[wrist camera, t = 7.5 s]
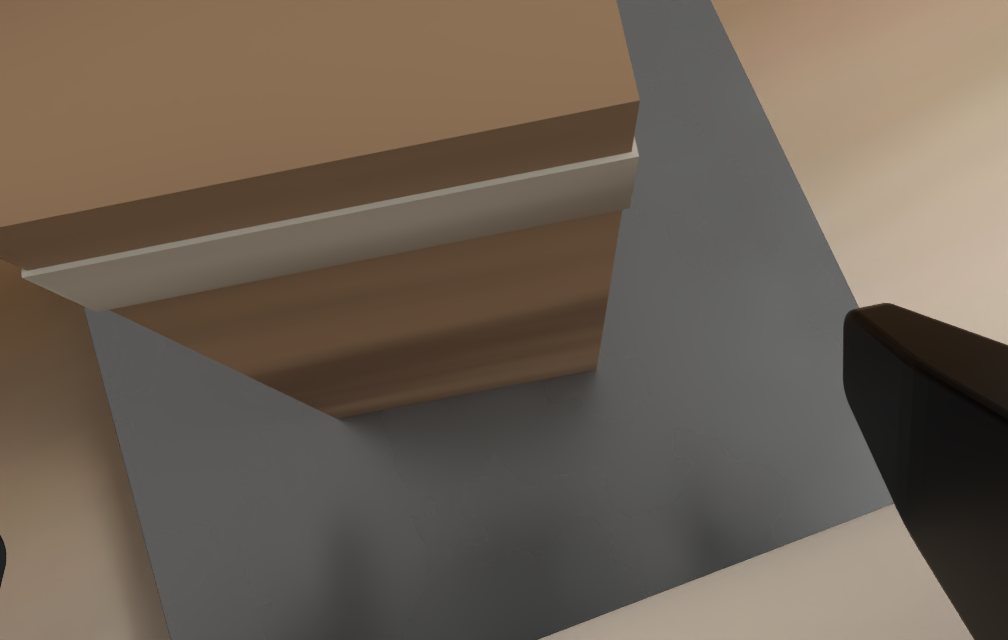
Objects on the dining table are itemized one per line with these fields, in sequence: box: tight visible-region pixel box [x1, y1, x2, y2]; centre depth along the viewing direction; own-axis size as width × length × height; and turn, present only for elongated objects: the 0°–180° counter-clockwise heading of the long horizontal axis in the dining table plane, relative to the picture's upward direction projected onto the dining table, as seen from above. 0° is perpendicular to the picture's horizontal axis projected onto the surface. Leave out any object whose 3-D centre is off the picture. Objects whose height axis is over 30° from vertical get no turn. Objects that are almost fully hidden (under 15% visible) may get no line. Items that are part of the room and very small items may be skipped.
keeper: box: [83, 0, 894, 640], centre depth 15 cm, size 14×14×7 cm
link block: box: [0, 0, 640, 419], centre depth 12 cm, size 5×5×11 cm
